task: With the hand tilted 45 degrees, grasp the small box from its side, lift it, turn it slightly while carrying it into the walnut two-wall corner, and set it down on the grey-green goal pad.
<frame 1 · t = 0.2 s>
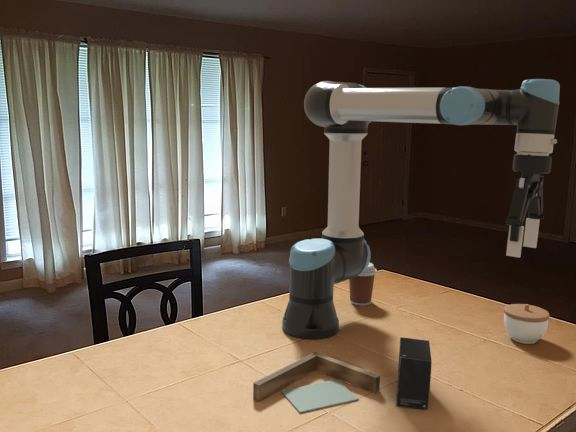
hand: (521, 251, 121), 27 cm above the table, tool pointing down, fingers open, 13 cm apart
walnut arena: (316, 370, 124), on the table
small box: (412, 396, 113), on the table
coffee cup: (360, 302, 170), on the table
goal pad: (319, 395, 113), on the table
lidded jar: (523, 339, 143), on the table
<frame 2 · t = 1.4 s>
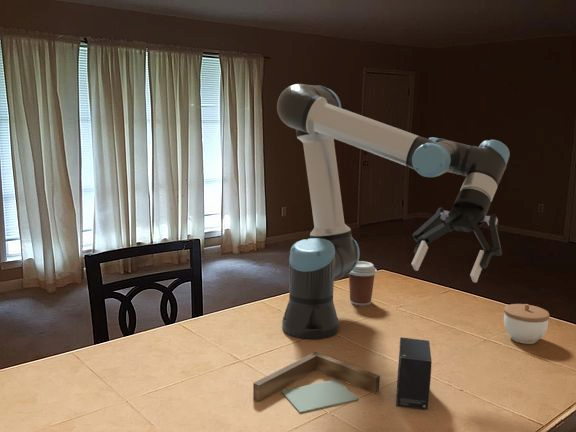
hand: (442, 273, 120), 23 cm above the table, tool tilted 45°, fingers open, 13 cm apart
nothing on the table moved.
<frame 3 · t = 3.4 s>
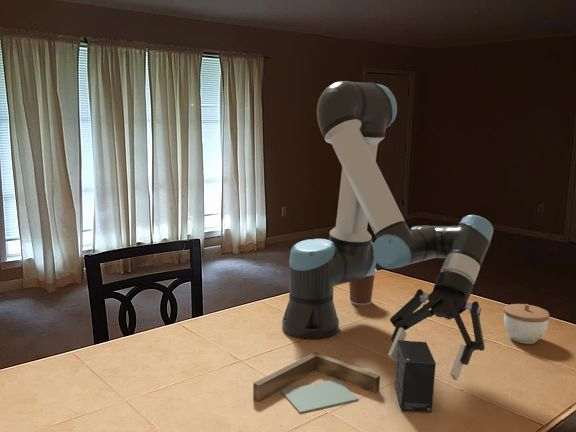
hand: (421, 367, 112), 6 cm above the table, tool tilted 45°, fingers open, 13 cm apart
small box: (412, 400, 112), on the table
everything else where it was.
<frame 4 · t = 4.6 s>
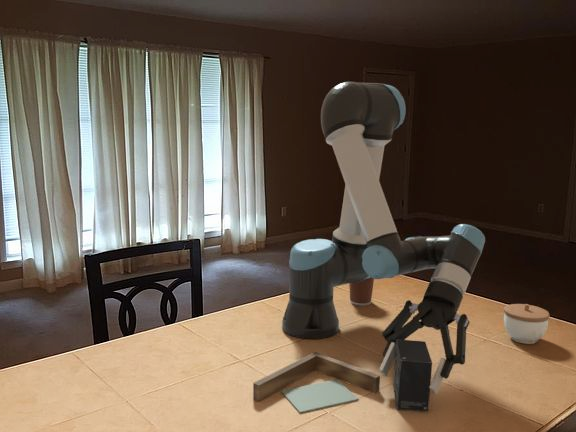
hand: (407, 381, 110), 4 cm above the table, tool tilted 45°, fingers closed on small box, 10 cm apart
small box: (410, 399, 112), on the table, touching gripper
everything else where it was.
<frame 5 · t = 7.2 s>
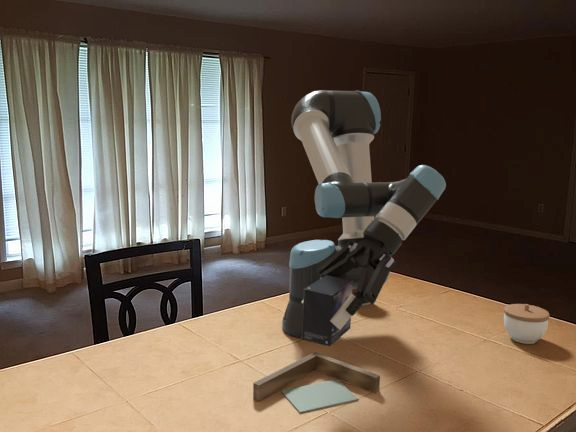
hand: (319, 315, 108), 18 cm above the table, tool tilted 45°, fingers closed on small box, 10 cm apart
small box: (327, 335, 110), point 13 cm above the table, touching gripper
everything else where it was.
when the fingers open (6 cm above the table, at t = 10.3 s): small box drops 1 cm, resting on goal pad.
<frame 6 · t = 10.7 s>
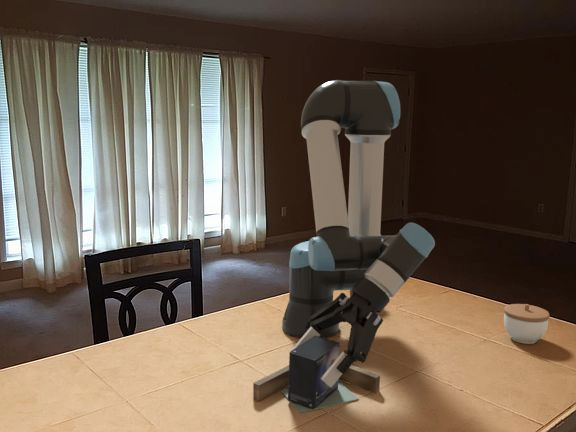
hand: (309, 368, 111), 6 cm above the table, tool tilted 45°, fingers open, 13 cm apart
small box: (313, 395, 112), resting on goal pad
everything else where it was.
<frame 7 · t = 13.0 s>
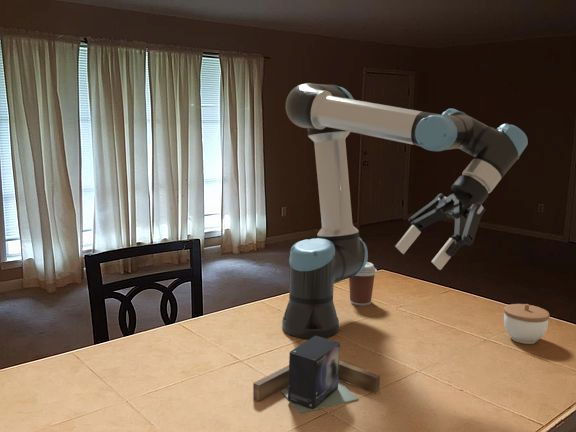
hand: (416, 257, 121), 26 cm above the table, tool tilted 45°, fingers open, 13 cm apart
nothing on the table moved.
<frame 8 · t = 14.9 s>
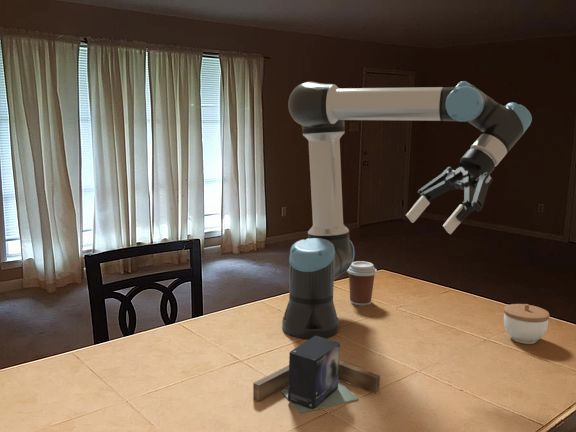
hand: (427, 224, 128), 32 cm above the table, tool tilted 45°, fingers open, 13 cm apart
nothing on the table moved.
at the end: small box inside the target area on the goal pad (1.1 cm from its centre), point 0.1 cm above the goal pad's base; small box tilted 0°; the gripper is holding nothing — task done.
